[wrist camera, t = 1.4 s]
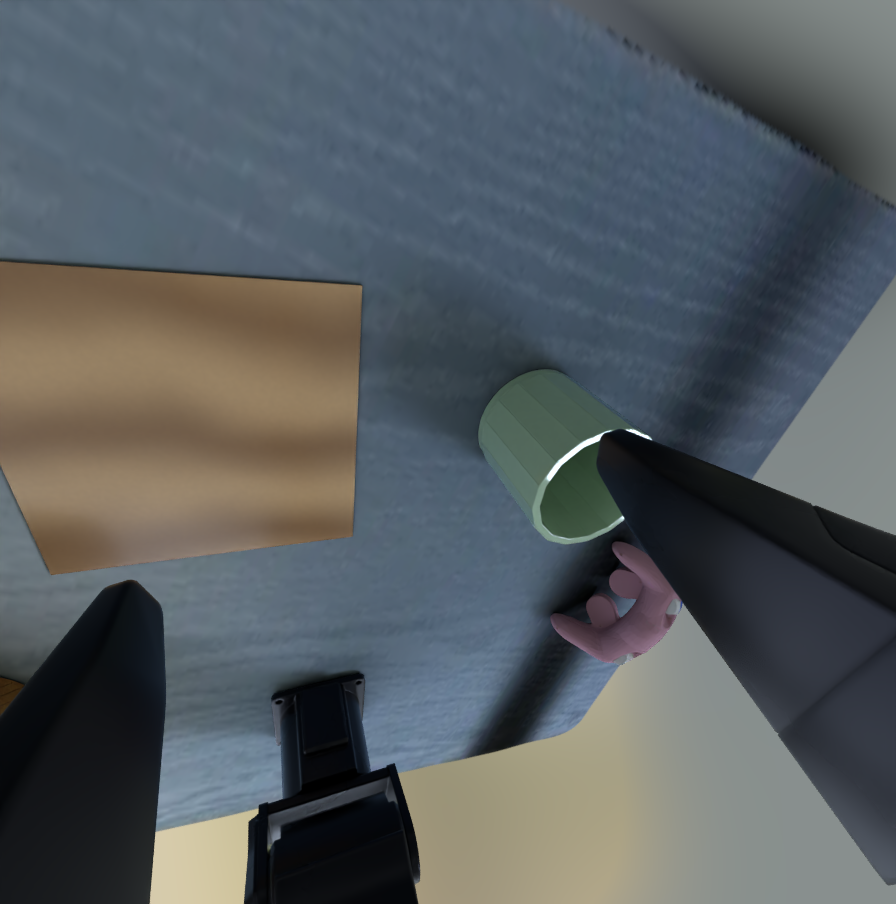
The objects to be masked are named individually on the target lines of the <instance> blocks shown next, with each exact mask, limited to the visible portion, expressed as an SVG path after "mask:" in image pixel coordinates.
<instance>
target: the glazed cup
mask: <svg viewBox="0 0 896 904" xmlns="http://www.w3.org/2000/svg"><path fill="white" fill-rule="evenodd" d="M616 429H624V430H627V431H630V432H632V433H635V434H637V435H640V436H642V437H645V438H647V439H650V440H652V439H651V437H650V436H649V435H648V434H646V433H645V432H644V431H642V430H641V429H640V428H638V427H637V426H636V425H634V424H633V423H632V422H630V421H629V420H628V419H626V418H625V417H624V416H622V415H621V414H620V413H618V412H617V411H616V410H614V409H613V408H612V407H610V406H609V405H608V404H606V403H605V402H604V401H602V400H601V399H600V398H598V397H597V396H596V395H594V394H593V393H592V392H591V391H589V390H588V389H587V388H585V387H584V386H583V385H581V384H580V383H579V382H577V381H575V380H573V379H572V378H570V377H569V376H567V375H566V374H564V373H562V372H560V371H556V370H549V369H543V370H535V371H531V372H528V373H525V374H522V375H520V376H518V377H516V378H514V379H513V380H511V381H510V382H508V383H507V384H506V385H504V386H503V387H502V388H501V389H500V390H499V391H498V392H497V393H496V394H495V395H494V396H493V398H492V399H491V400H490V402H489V403H488V405H487V407H486V408H485V410H484V412H483V415H482V417H481V420H480V424H479V431H478V440H479V445H480V448H481V451H482V453H483V455H484V456H485V459H486V460H487V462H488V463H489V465H490V466H491V467H492V469H493V470H494V472H495V473H496V474H497V476H498V477H499V479H500V480H501V481H502V483H503V484H504V486H505V487H506V488H507V490H508V491H509V493H510V494H511V495H512V497H513V498H514V500H515V501H516V502H517V504H518V505H519V507H520V508H521V509H522V511H523V512H524V514H525V515H526V516H527V518H528V519H529V521H530V522H531V523H532V525H533V526H534V528H535V529H536V530H537V531H538V532H539V533H540V534H541V535H542V536H543V537H544V538H545V539H546V540H548V541H552V542H557V543H561V544H572V543H578V542H585V541H589V540H591V539H593V538H595V537H597V536H599V535H602V534H604V533H606V532H608V531H609V530H611V529H613V528H614V527H615V526H617V525H618V524H619V523H620V522H622V521H623V520H624V517H623V515H622V514H621V512H620V510H619V508H618V507H617V505H616V503H615V501H614V500H613V498H612V496H611V494H610V492H609V491H608V489H607V487H606V485H605V484H604V482H603V480H602V478H601V477H600V475H599V473H598V470H597V466H596V461H597V455H598V449H599V443H600V438H601V436H602V435H603V434H604V433H607V432H610V431H613V430H616Z"/></svg>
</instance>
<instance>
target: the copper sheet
mask: <svg viewBox="0 0 896 904" xmlns="http://www.w3.org/2000/svg"><path fill="white" fill-rule="evenodd" d="M361 306H362V285H351V284H336V283H321V282H306V281H291V280H276V279H261V278H246V277H231V276H216V275H201V274H186V273H171V272H156V271H141V270H126V269H111V268H96V267H81V266H67V265H52V264H37V263H22V262H7V261H0V465H1V467H2V470H3V472H4V474H5V476H6V478H7V481H8V483H9V485H10V487H11V489H12V491H13V494H14V496H15V498H16V500H17V502H18V504H19V507H20V509H21V511H22V513H23V515H24V517H25V520H26V522H27V524H28V526H29V528H30V530H31V533H32V535H33V537H34V539H35V541H36V543H37V546H38V548H39V550H40V552H41V554H42V556H43V559H44V561H45V563H46V565H47V567H48V569H49V572H50V574H51V575H55V574H63V573H71V572H79V571H87V570H95V569H102V568H110V567H118V566H126V565H134V564H141V563H149V562H157V561H165V560H173V559H181V558H188V557H196V556H204V555H212V554H220V553H228V552H235V551H243V550H251V549H259V548H267V547H274V546H282V545H290V544H298V543H306V542H314V541H321V540H329V539H337V538H345V537H352V536H353V513H354V487H355V461H356V435H357V409H358V383H359V357H360V332H361Z"/></svg>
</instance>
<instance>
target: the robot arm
mask: <svg viewBox="0 0 896 904" xmlns="http://www.w3.org/2000/svg"><path fill="white" fill-rule="evenodd" d="M596 466H597V470H598V473H599V475H600V477H601V478H602V480H603V482H604V484H605V485H606V487H607V489H608V491H609V492H610V494H611V496H612V498H613V500H614V501H615V503H616V505H617V507H618V508H619V510H620V512H621V514H622V515H623V517H624V519H625V521H626V523H627V524H628V526H629V527H630V529H631V531H632V532H633V534H634V535H635V537H636V538H637V540H638V541H639V543H640V544H641V545H642V547H643V548H644V550H645V551H646V552H647V554H648V555H649V557H650V558H651V559H652V561H653V562H654V563H655V565H656V566H657V568H658V569H659V570H660V572H661V573H662V575H663V576H664V577H665V579H666V580H667V581H668V583H669V584H670V586H671V587H672V588H673V590H674V591H675V593H676V594H677V595H678V597H679V598H680V600H681V601H682V602H683V603H684V605H685V606H686V608H687V609H688V611H689V612H690V613H691V615H692V616H693V617H694V619H695V620H696V621H697V623H698V625H699V626H700V627H701V629H702V630H703V631H704V632H705V634H706V636H707V637H708V638H709V640H710V641H711V643H712V644H713V645H714V647H715V648H716V649H717V651H718V652H719V654H720V655H721V656H722V658H723V659H724V661H725V662H726V663H727V665H728V666H729V668H730V669H731V670H732V671H733V673H734V674H735V676H736V677H737V679H738V680H739V681H740V683H741V684H742V686H743V687H744V688H745V689H746V691H747V693H748V694H749V695H750V697H751V698H752V699H753V701H754V702H755V703H756V705H757V706H758V708H759V709H760V711H761V712H762V713H763V714H764V716H765V717H766V719H767V720H768V722H769V723H770V724H771V726H772V727H773V729H774V730H775V731H776V732H777V733H778V736H779V737H780V738H781V740H782V741H783V743H784V744H785V746H786V747H787V748H788V750H789V751H790V753H791V754H792V755H793V757H794V758H795V760H796V761H797V762H798V764H799V765H800V767H801V768H802V769H803V771H804V772H805V774H806V775H807V776H808V778H809V779H810V780H811V782H812V783H813V785H814V786H815V787H816V789H817V790H818V792H819V793H820V794H821V796H822V797H823V798H824V799H825V801H826V803H827V804H828V805H829V807H830V808H831V810H832V811H833V812H834V814H835V815H836V816H837V818H838V819H839V820H840V822H841V823H842V825H843V826H844V828H845V829H846V830H847V832H848V833H849V835H850V836H851V837H852V839H853V840H854V841H855V843H856V844H857V846H858V847H859V848H860V850H861V851H862V852H863V854H864V855H865V857H866V858H867V859H868V861H869V862H870V864H871V865H872V866H873V868H874V869H875V870H876V872H877V873H878V874H879V876H880V877H881V878H882V879H883V880H884V882H885V883H886V884H887V885H894V884H896V535H893V534H890V533H887V532H884V531H882V530H879V529H876V528H873V527H871V526H868V525H865V524H863V523H860V522H857V521H855V520H852V519H850V518H846V517H844V516H842V515H839V514H837V513H834V512H831V511H829V510H826V509H824V508H821V507H819V506H812V505H811V503H808V502H806V501H803V500H801V499H798V498H796V497H793V496H791V495H788V494H786V493H783V492H781V491H778V490H776V489H773V488H771V487H768V486H766V485H763V484H761V483H758V482H756V481H753V480H751V479H748V478H746V477H743V476H741V475H738V474H735V473H733V472H730V471H728V470H725V469H723V468H720V467H718V466H715V465H713V464H710V463H708V462H705V461H703V460H700V459H698V458H695V457H693V456H690V455H688V454H685V453H683V452H680V451H678V450H675V449H673V448H670V447H667V446H665V445H662V444H660V443H657V442H655V441H652V440H650V439H647V438H645V437H642V436H640V435H637V434H635V433H632V432H630V431H627V430H624V429H616V430H613V431H610V432H607V433H604V434H603V435H602V436H601V438H600V443H599V449H598V455H597V461H596ZM364 691H365V678H364V675H363V674H356V675H351V676H347V677H343V678H339V679H334V680H330V681H326V682H322V683H317V684H313V685H309V686H305V687H300V688H296V689H292V690H288V691H283V692H279V693H276V694H274V695H273V696H272V698H271V702H272V712H273V720H274V729H275V737H276V744H277V745H278V746H281V766H282V792H283V799H282V800H279V801H275V802H272V803H269V804H268V802H266V803H263V804H260V805H259V813H258V814H257V816H255V817H254V818H253V819H251V820H250V821H249V827H248V829H249V830H248V861H247V873H246V885H245V897H244V904H418V900H417V894H416V889H415V884H416V883H418V882H419V881H420V862H419V853H418V847H417V841H416V836H415V831H414V827H413V823H412V820H411V816H410V813H409V810H408V806H407V803H406V799H405V796H404V793H403V789H402V786H401V783H400V779H399V776H398V773H397V769H396V766H395V763H393V764H390V765H387V767H385V768H382V769H379V770H375V771H372V772H371V769H370V763H369V757H368V752H367V746H366V741H365V735H364V729H363V724H362V717H363V704H364ZM165 707H166V675H165V649H164V624H163V612H162V608H161V606H160V604H159V603H158V601H157V600H156V599H155V598H154V597H153V596H152V595H150V594H149V593H148V592H147V591H146V590H145V589H144V588H143V587H142V586H141V585H140V584H139V583H138V582H137V581H135V580H126V581H123V582H120V583H116V584H113V585H110V586H108V587H106V588H104V589H103V590H102V591H101V592H100V593H99V595H98V596H97V597H96V598H95V600H94V601H93V602H92V603H91V605H90V606H89V607H88V608H87V609H86V611H85V612H84V613H83V614H82V616H81V617H80V618H79V619H78V621H77V622H76V623H75V624H74V626H73V627H72V628H71V629H70V630H69V632H68V633H67V634H66V635H65V637H64V638H63V639H62V640H61V642H60V643H59V644H58V645H57V646H56V648H55V649H54V650H53V651H52V653H51V654H50V655H49V656H48V658H47V659H46V660H45V661H44V663H43V664H42V665H41V666H40V667H39V669H38V670H37V671H36V672H35V674H34V675H33V676H32V677H31V679H30V680H29V681H28V682H27V683H26V685H25V686H24V687H23V688H22V690H21V691H20V692H19V693H18V695H17V696H16V697H15V698H14V700H13V701H12V702H11V703H10V704H9V706H8V707H7V708H6V709H5V711H4V712H3V713H2V714H1V716H0V904H149V903H150V891H151V878H152V867H153V855H154V842H155V830H156V818H157V806H158V794H159V782H160V769H161V757H162V745H163V733H164V721H165Z"/></svg>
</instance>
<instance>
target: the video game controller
mask: <svg viewBox="0 0 896 904" xmlns="http://www.w3.org/2000/svg"><path fill="white" fill-rule="evenodd" d="M612 549H613V552H614V553H615V555H616V556H617V558H618V559H619V560H620V561H621V562H622V563H623V564H624V565H625V566H627V567H620V568H618V569H617V570H616V571H614V572H613V573H612V574H611V576H610V580H609V584H610V587H611V589H612V591H613V592H614V593H615V594H617V595H618V596H621V597H623V598H628V599H637V600H636V602H635V603H634V605H633V606H632V608H631V609H630V610H629V611H628V612H627V613H626V614H625V615H624V616H623V617H621V618H620V617H619V615H618V610H617V606H616V604H615V602H614V601H613V600H612V599H611V598H610V597H609V596H607V595H605V594H603V593H598V594H595V595H593V596H592V597H591V598H590V599H589V600H588V602H587V604H586V609H587V612H588V615H589V617H590V619H591V622H592V623H590V624H589V623H584V622H581V621H578V620H576V619H574V618H572V617H570V616H567V615H564V614H559V613H554V614H552V615H551V623H552V625H553V627H554V628H555V629H556V631H557V632H558V633H559V634H560V635H561V636H562V637H563V638H565V639H566V640H568V641H569V642H571V643H572V644H574V645H576V646H577V647H579V648H580V649H582V650H584V651H585V652H587V653H588V654H590V655H592V656H593V657H595V658H597V659H598V660H601V661H603V662H607V663H615V664H617V665H623V664H624V663H625V662H628V661H631V660H632V659H633V658H635V657H637V656H639V655H641V654H643V653H646V652H647V651H648V650H649V649H651V648H652V647H653V646H654V645H655V644H656V643H658V642H659V641H660V640H661V639H662V637H663V636H664V635H665V634H666V633H667V631H668V630H669V629H670V627H671V626H672V624H673V622H674V620H675V618H676V616H677V614H678V613H679V612H680V610H681V608H682V601H681V600H680V598H679V597H678V595H677V594H676V593H675V591H674V590H673V588H672V587H671V586H670V584H669V583H668V581H667V580H666V579H665V577H664V576H663V575H662V573H661V572H660V570H659V569H658V568H657V566H656V565H655V563H654V562H653V561H652V559H651V558H650V557H649V555H647V554H646V553H644V552H643V551H641V550H639V549H637V548H635V547H634V546H632V545H629V544H627V543H624V542H618V541H616V542H614V543H613V544H612Z"/></svg>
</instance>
